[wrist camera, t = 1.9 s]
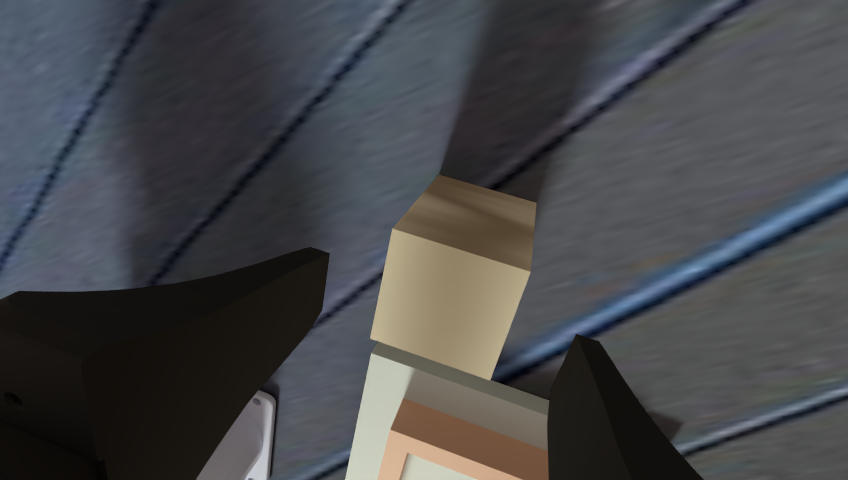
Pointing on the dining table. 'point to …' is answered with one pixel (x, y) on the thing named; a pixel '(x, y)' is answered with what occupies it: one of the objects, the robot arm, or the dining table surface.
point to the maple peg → (456, 275)
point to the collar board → (444, 424)
